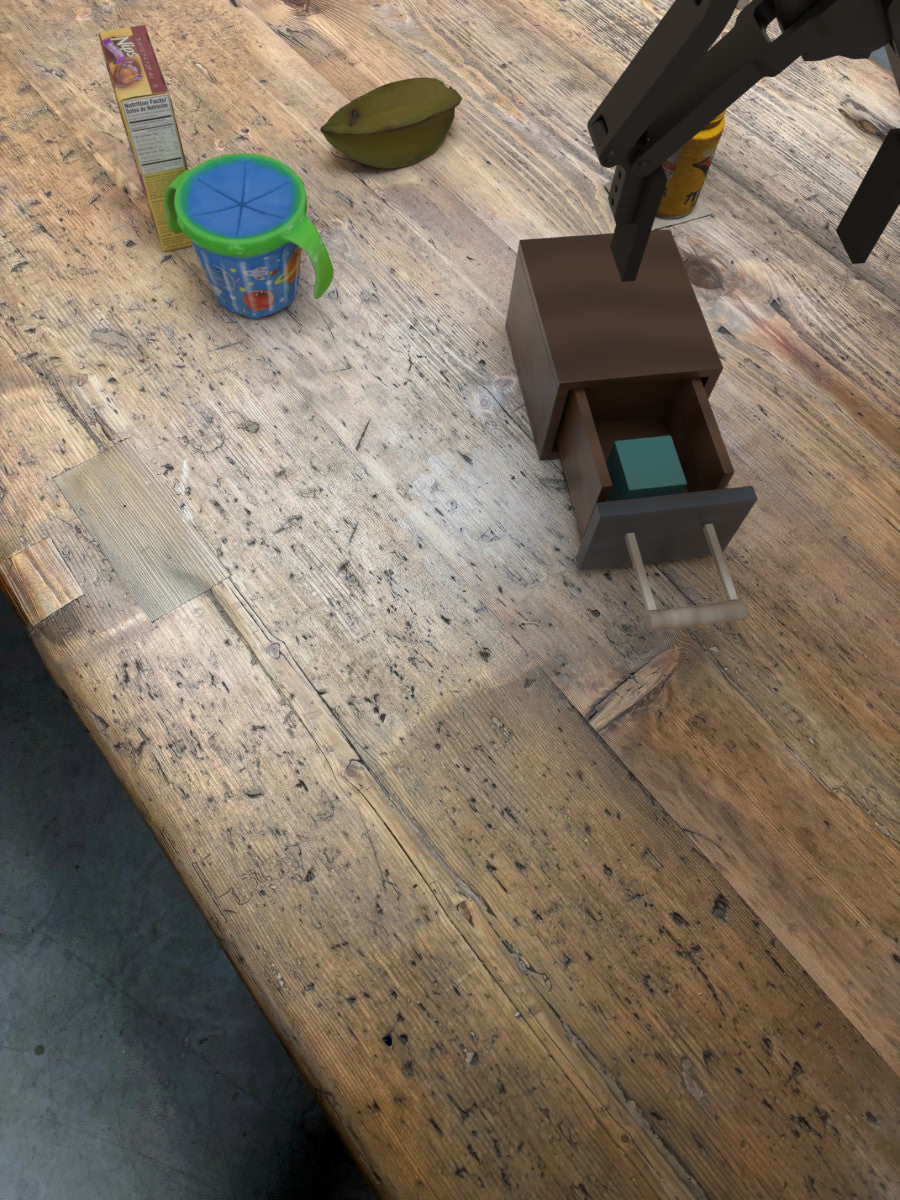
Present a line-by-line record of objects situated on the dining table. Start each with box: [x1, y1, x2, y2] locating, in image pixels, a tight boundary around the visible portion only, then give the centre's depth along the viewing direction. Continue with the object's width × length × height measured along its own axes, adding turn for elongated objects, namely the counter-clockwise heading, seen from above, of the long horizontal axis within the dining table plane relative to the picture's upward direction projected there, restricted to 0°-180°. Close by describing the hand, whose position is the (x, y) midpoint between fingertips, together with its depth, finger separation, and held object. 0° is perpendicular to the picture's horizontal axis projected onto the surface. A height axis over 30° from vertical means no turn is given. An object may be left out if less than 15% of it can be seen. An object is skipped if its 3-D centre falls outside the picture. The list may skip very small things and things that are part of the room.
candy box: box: [97, 24, 193, 252], centre depth 80 cm, size 9×4×15 cm, turn 20°
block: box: [606, 435, 687, 501], centre depth 72 cm, size 4×4×4 cm
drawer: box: [556, 377, 758, 633], centre depth 70 cm, size 21×12×8 cm, turn 10°
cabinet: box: [505, 228, 724, 462], centre depth 77 cm, size 15×13×10 cm
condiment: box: [603, 109, 727, 231], centre depth 87 cm, size 7×8×12 cm
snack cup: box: [165, 152, 335, 320], centre depth 79 cm, size 16×10×10 cm
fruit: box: [319, 77, 463, 170], centre depth 90 cm, size 11×12×7 cm
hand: (737, 255), depth 52 cm, fingers open, 13 cm apart
